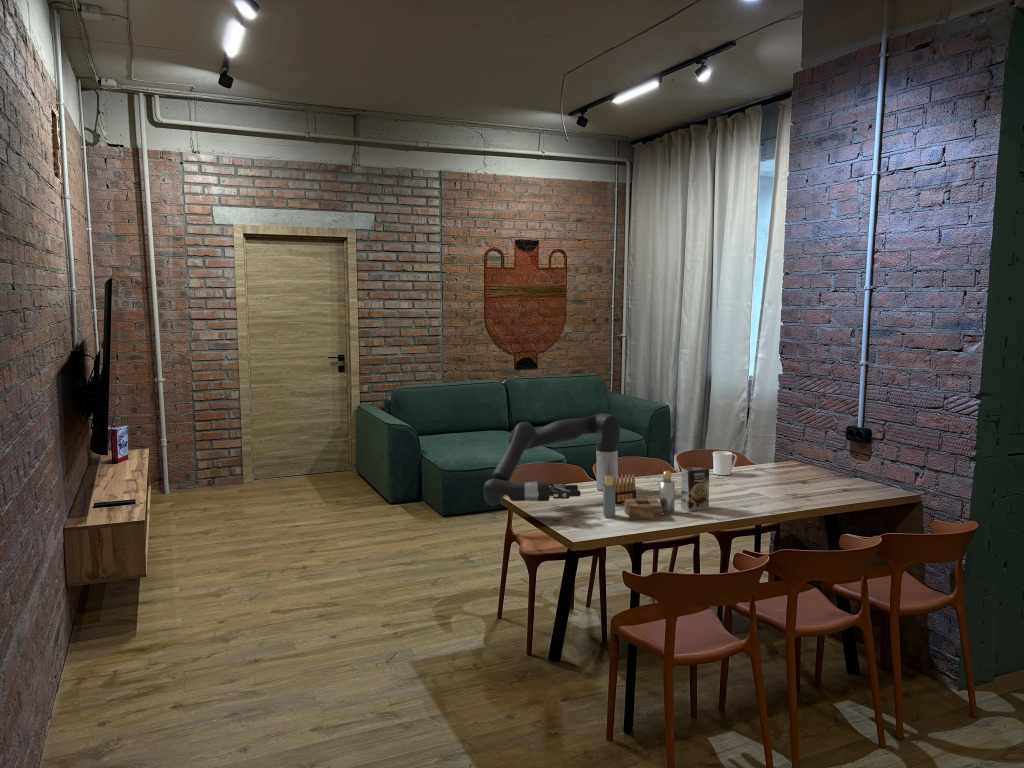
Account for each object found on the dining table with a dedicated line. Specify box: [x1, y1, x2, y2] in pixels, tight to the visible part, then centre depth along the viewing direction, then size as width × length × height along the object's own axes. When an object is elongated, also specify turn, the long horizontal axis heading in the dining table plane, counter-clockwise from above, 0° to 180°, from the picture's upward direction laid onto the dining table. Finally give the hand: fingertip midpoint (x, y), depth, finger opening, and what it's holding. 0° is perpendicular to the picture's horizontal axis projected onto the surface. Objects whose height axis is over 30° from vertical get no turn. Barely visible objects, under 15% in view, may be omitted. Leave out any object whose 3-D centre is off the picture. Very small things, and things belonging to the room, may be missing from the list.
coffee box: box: [680, 466, 710, 512], centre depth 282 cm, size 9×6×16 cm
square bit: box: [602, 474, 616, 518], centre depth 274 cm, size 4×4×16 cm
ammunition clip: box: [613, 472, 637, 505], centre depth 292 cm, size 11×2×12 cm, turn 111°
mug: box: [712, 450, 738, 477], centre depth 339 cm, size 11×9×10 cm
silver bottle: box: [659, 470, 676, 515], centre depth 278 cm, size 6×6×16 cm
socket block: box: [624, 497, 663, 521], centre depth 275 cm, size 12×12×5 cm
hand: (579, 490), depth 273 cm, fingers open, 8 cm apart
